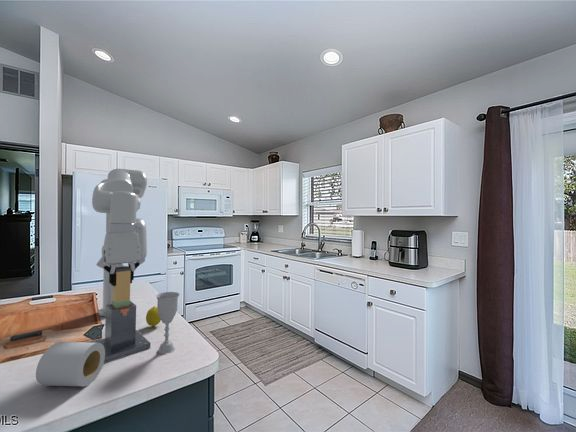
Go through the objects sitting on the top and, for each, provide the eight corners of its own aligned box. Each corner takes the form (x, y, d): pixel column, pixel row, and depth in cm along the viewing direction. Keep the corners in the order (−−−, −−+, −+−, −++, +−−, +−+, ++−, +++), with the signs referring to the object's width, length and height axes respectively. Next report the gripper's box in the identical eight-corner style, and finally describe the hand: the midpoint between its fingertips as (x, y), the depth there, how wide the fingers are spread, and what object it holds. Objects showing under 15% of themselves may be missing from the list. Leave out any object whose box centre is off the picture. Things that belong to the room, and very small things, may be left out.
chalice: (182, 346, 90) (184, 293, 90) (167, 356, 83) (168, 299, 83) (165, 342, 92) (166, 291, 92) (149, 352, 86) (150, 296, 86)
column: (111, 324, 88) (112, 267, 88) (125, 321, 91) (127, 265, 91) (114, 328, 85) (116, 269, 85) (129, 325, 88) (131, 267, 88)
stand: (89, 347, 88) (90, 304, 88) (136, 333, 98) (136, 296, 98) (100, 363, 79) (101, 316, 78) (150, 347, 89) (151, 305, 89)
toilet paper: (35, 394, 65) (36, 353, 65) (68, 370, 75) (69, 335, 75) (76, 395, 65) (77, 354, 65) (104, 371, 75) (105, 336, 75)
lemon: (155, 330, 102) (155, 309, 101) (142, 329, 103) (142, 308, 103) (164, 324, 107) (165, 304, 107) (152, 323, 108) (152, 303, 108)
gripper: (145, 227, 97) (144, 278, 97) (89, 228, 85) (88, 286, 85) (153, 228, 92) (152, 281, 92) (95, 230, 80) (93, 291, 80)
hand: (121, 283), depth 88 cm, fingers closed on column, 4 cm apart
